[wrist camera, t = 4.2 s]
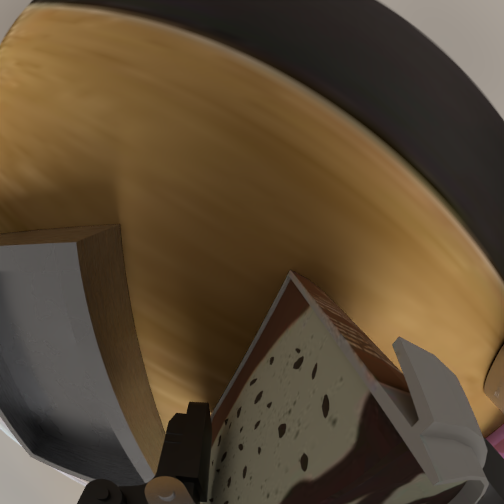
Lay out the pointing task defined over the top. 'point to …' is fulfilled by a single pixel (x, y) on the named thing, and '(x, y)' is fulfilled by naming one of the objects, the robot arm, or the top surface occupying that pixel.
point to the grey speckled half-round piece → (340, 417)
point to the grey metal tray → (75, 356)
